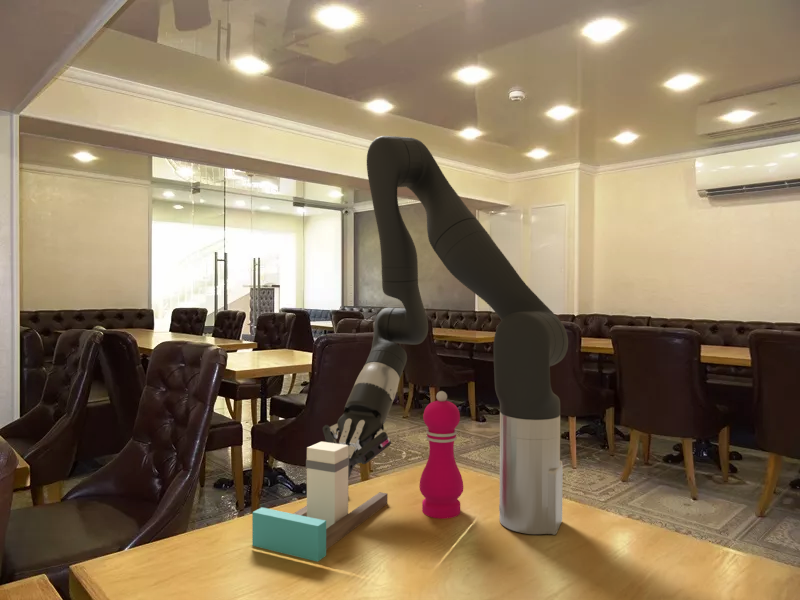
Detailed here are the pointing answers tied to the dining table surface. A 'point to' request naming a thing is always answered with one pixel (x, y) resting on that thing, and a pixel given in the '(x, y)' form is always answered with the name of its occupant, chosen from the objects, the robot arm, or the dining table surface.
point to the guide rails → (351, 518)
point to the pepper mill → (441, 461)
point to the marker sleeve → (327, 481)
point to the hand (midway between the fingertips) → (336, 482)
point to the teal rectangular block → (289, 533)
